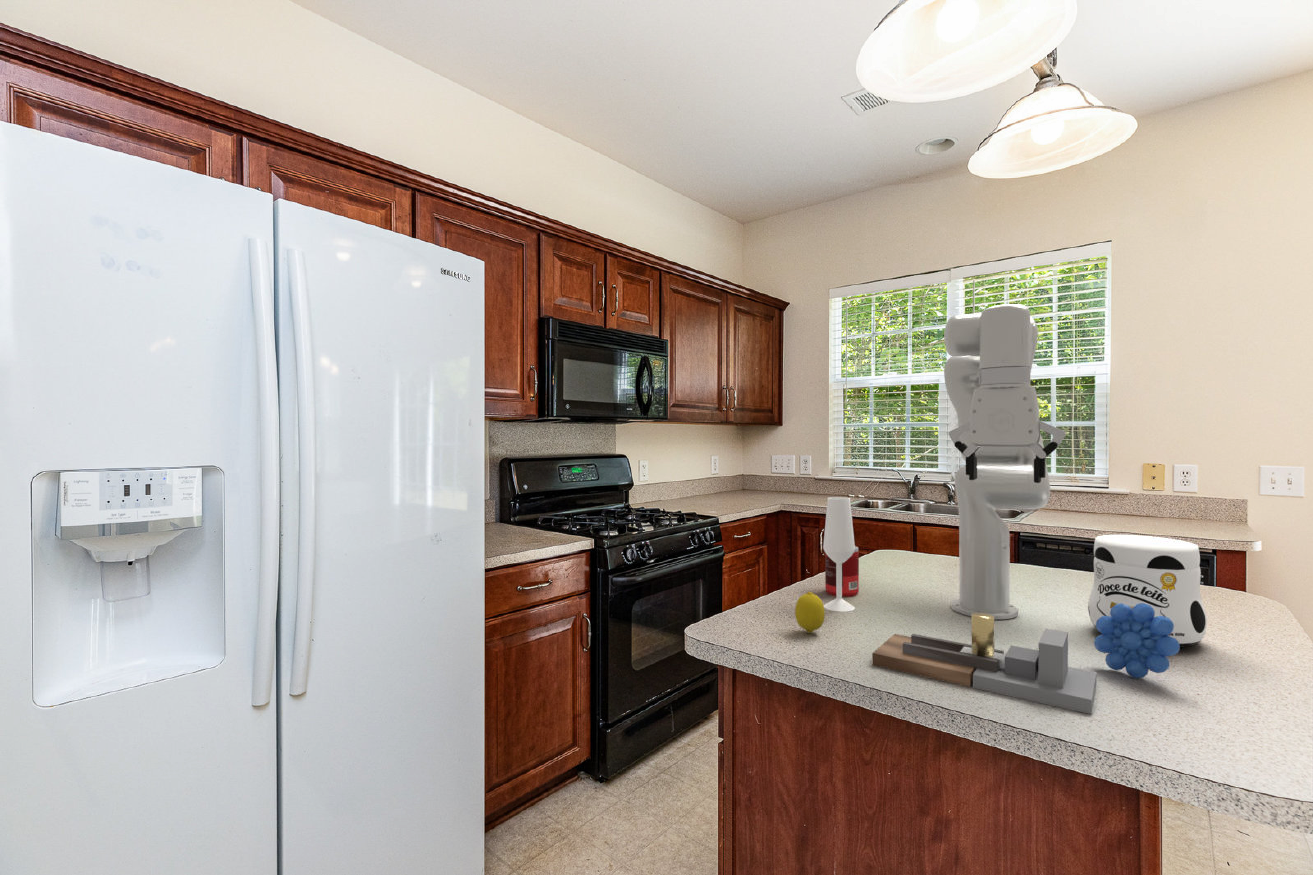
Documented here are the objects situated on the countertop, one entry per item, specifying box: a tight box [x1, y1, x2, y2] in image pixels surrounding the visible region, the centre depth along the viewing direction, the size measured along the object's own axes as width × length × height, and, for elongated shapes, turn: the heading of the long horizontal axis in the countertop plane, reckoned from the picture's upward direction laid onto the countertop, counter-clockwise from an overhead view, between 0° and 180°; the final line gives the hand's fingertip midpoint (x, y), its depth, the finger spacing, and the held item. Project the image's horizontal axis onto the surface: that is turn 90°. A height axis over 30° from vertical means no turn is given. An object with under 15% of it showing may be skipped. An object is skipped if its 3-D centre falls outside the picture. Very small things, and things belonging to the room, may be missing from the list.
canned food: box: [824, 545, 860, 598], centre depth 149 cm, size 8×8×11 cm
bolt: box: [960, 613, 1006, 670], centre depth 98 cm, size 3×10×7 cm, turn 52°
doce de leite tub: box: [1087, 534, 1208, 648], centre depth 116 cm, size 17×17×18 cm
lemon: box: [794, 591, 826, 634], centre depth 120 cm, size 6×6×8 cm
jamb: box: [972, 628, 1097, 715], centre depth 95 cm, size 12×15×8 cm
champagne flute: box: [822, 496, 856, 613], centre depth 137 cm, size 7×7×24 cm
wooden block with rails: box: [871, 633, 1005, 688], centre depth 103 cm, size 12×18×4 cm, turn 52°
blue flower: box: [1093, 603, 1180, 679], centre depth 98 cm, size 12×7×12 cm, turn 27°
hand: (1004, 480), depth 106 cm, fingers open, 9 cm apart
